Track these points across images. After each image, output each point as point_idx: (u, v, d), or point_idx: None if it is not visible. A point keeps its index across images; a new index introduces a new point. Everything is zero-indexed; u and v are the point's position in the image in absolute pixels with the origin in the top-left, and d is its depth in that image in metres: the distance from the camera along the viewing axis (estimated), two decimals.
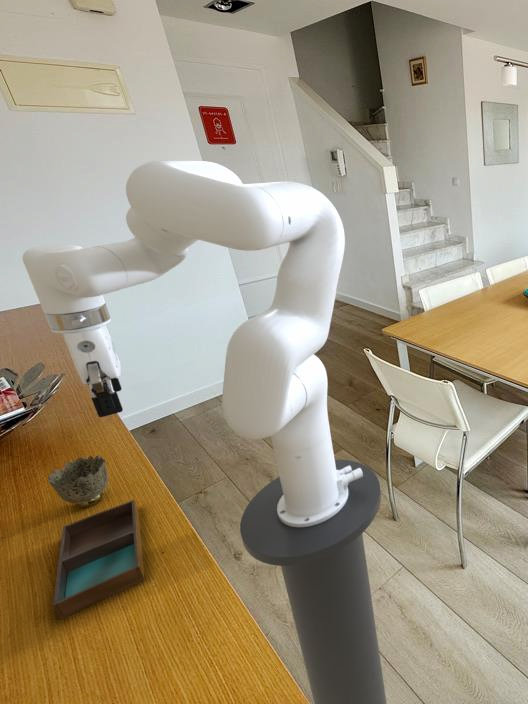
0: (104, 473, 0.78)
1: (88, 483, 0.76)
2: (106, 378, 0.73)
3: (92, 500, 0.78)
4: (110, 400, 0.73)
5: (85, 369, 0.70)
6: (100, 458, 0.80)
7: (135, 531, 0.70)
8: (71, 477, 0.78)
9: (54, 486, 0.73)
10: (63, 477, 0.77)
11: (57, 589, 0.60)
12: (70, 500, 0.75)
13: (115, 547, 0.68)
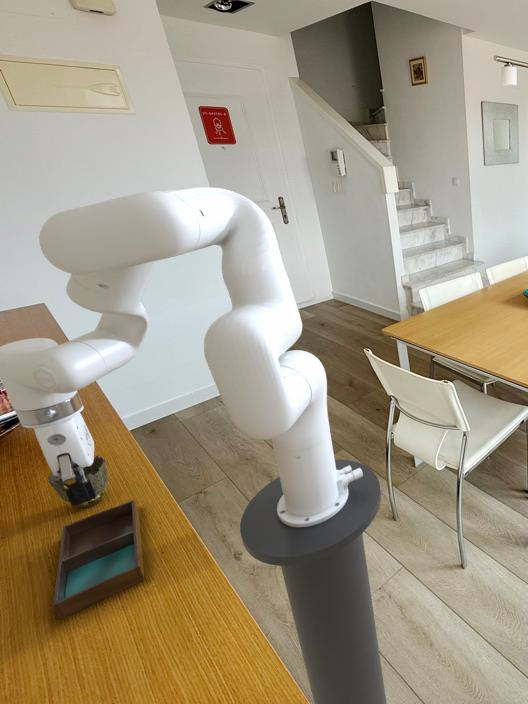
0: (104, 473, 0.78)
1: None
2: (79, 468, 0.73)
3: (92, 500, 0.78)
4: (83, 489, 0.74)
5: (57, 464, 0.71)
6: (100, 458, 0.80)
7: (135, 531, 0.70)
8: None
9: (54, 486, 0.73)
10: None
11: (57, 589, 0.60)
12: None
13: (115, 547, 0.68)
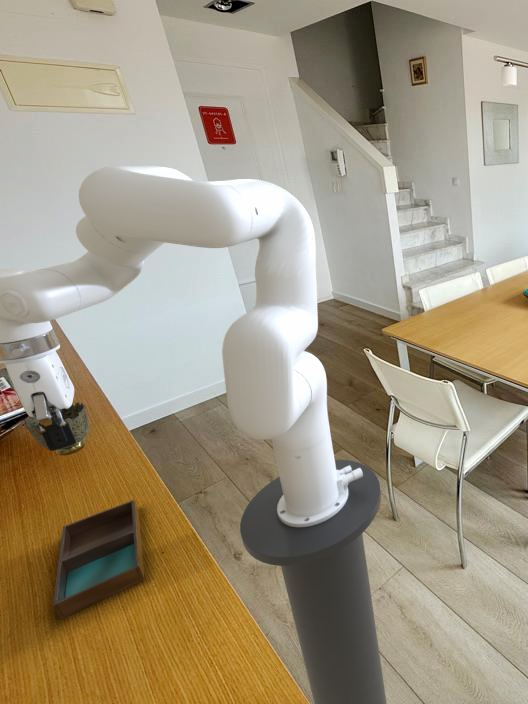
0: (85, 419, 0.74)
1: None
2: (56, 410, 0.69)
3: (72, 448, 0.74)
4: (61, 433, 0.70)
5: (31, 404, 0.66)
6: (80, 405, 0.75)
7: (135, 531, 0.70)
8: None
9: (30, 430, 0.69)
10: None
11: (57, 589, 0.60)
12: None
13: (115, 547, 0.68)
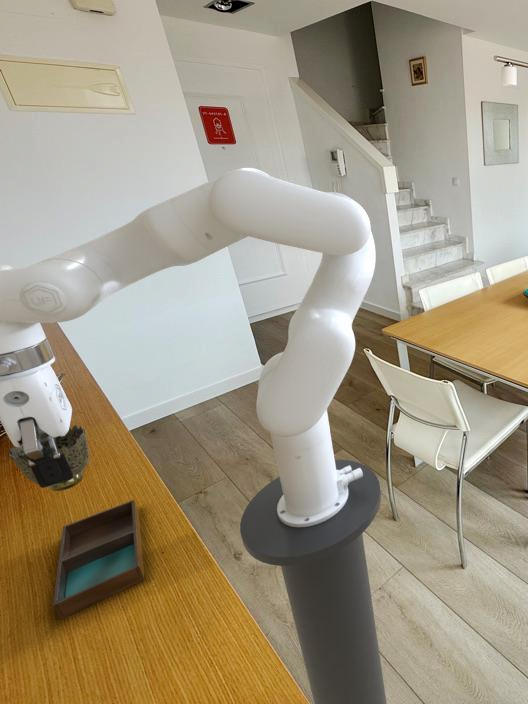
0: (84, 447, 0.61)
1: None
2: (49, 438, 0.56)
3: (68, 482, 0.61)
4: (55, 466, 0.57)
5: (18, 432, 0.53)
6: (79, 429, 0.62)
7: (135, 531, 0.70)
8: None
9: (16, 462, 0.56)
10: None
11: (57, 589, 0.60)
12: None
13: (115, 547, 0.68)
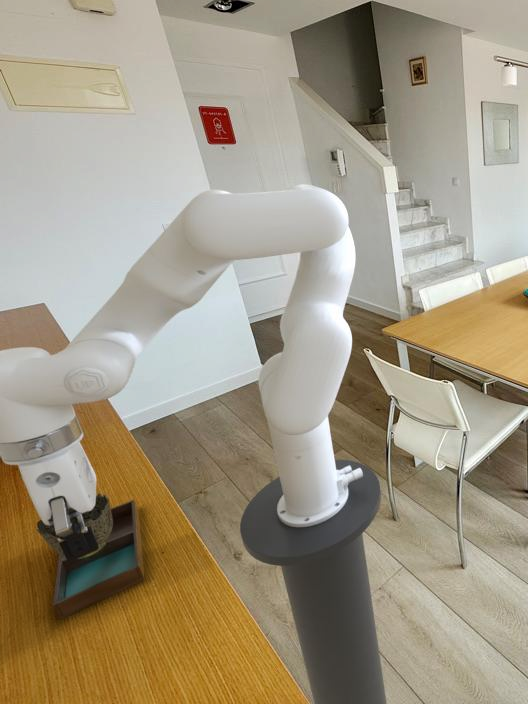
0: (108, 517, 0.62)
1: None
2: (77, 514, 0.57)
3: None
4: (82, 540, 0.58)
5: (49, 511, 0.54)
6: (103, 497, 0.64)
7: (135, 531, 0.70)
8: None
9: (44, 537, 0.57)
10: None
11: (57, 589, 0.60)
12: None
13: (115, 547, 0.68)
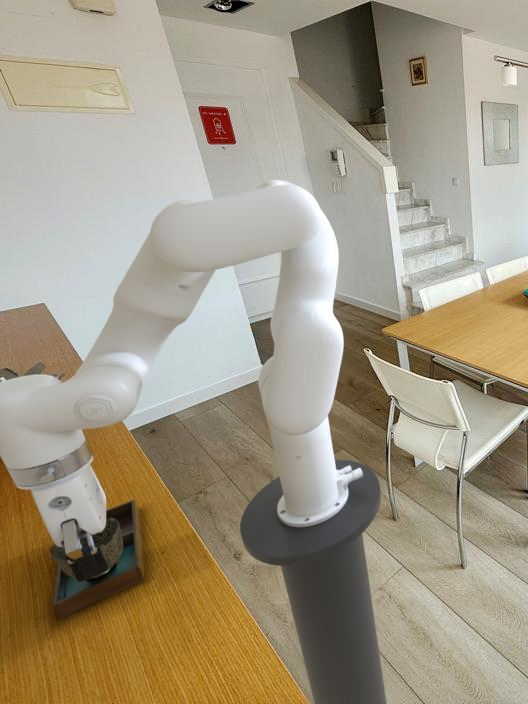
0: (119, 540, 0.64)
1: None
2: (87, 534, 0.58)
3: (104, 574, 0.64)
4: (92, 561, 0.58)
5: (59, 530, 0.56)
6: (113, 521, 0.65)
7: (135, 531, 0.70)
8: None
9: (58, 562, 0.59)
10: None
11: (57, 589, 0.60)
12: None
13: None
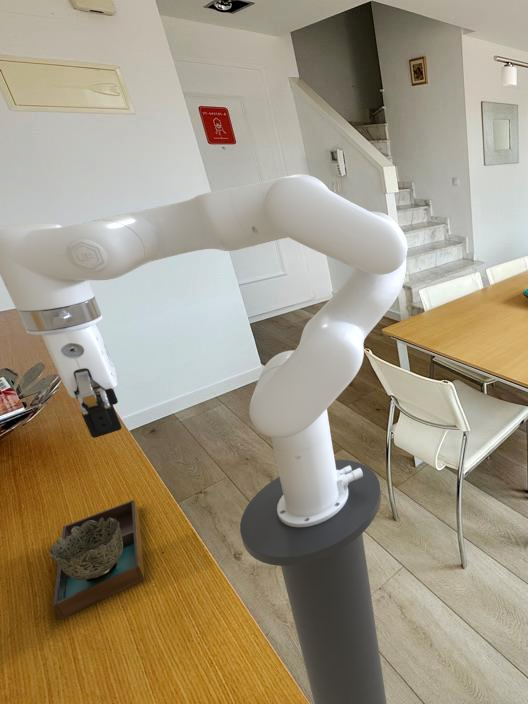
0: (119, 540, 0.64)
1: (100, 555, 0.61)
2: (99, 389, 0.59)
3: (104, 574, 0.64)
4: (106, 416, 0.59)
5: (73, 379, 0.56)
6: (113, 521, 0.65)
7: (135, 531, 0.70)
8: (77, 545, 0.64)
9: (58, 562, 0.59)
10: (68, 546, 0.63)
11: (57, 589, 0.60)
12: (77, 577, 0.61)
13: None
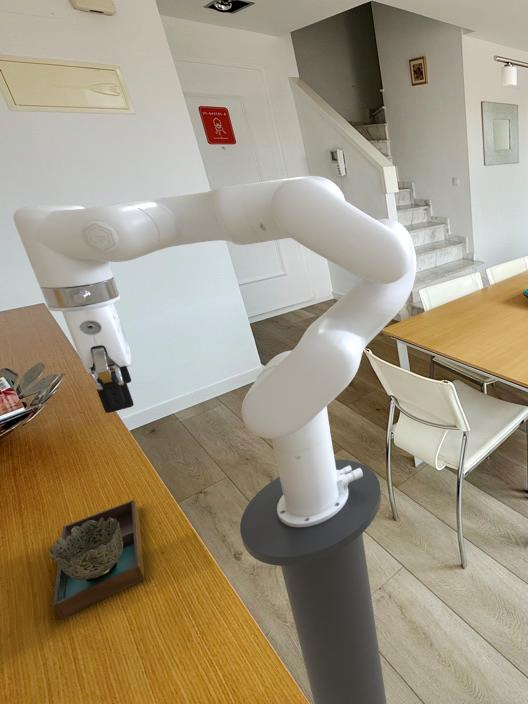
0: (119, 540, 0.64)
1: (100, 555, 0.61)
2: (114, 366, 0.61)
3: (104, 574, 0.64)
4: (119, 392, 0.61)
5: (89, 355, 0.58)
6: (113, 521, 0.65)
7: (135, 531, 0.70)
8: (77, 545, 0.64)
9: (58, 562, 0.59)
10: (68, 546, 0.63)
11: (57, 589, 0.60)
12: (77, 577, 0.61)
13: None
